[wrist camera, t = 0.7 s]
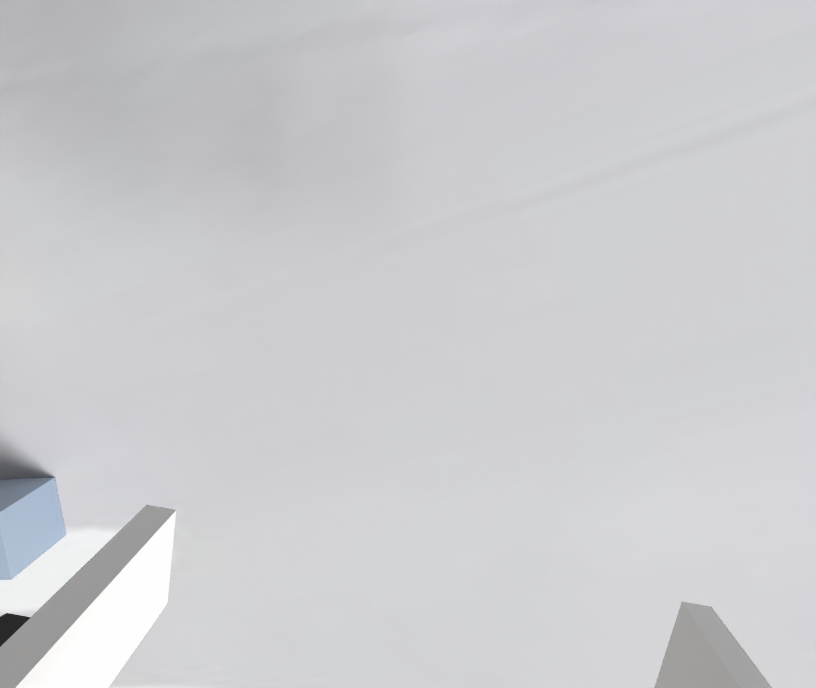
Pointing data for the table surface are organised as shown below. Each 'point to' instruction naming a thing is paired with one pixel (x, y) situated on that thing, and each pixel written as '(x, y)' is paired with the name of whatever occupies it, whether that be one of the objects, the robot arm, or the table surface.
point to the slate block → (27, 522)
